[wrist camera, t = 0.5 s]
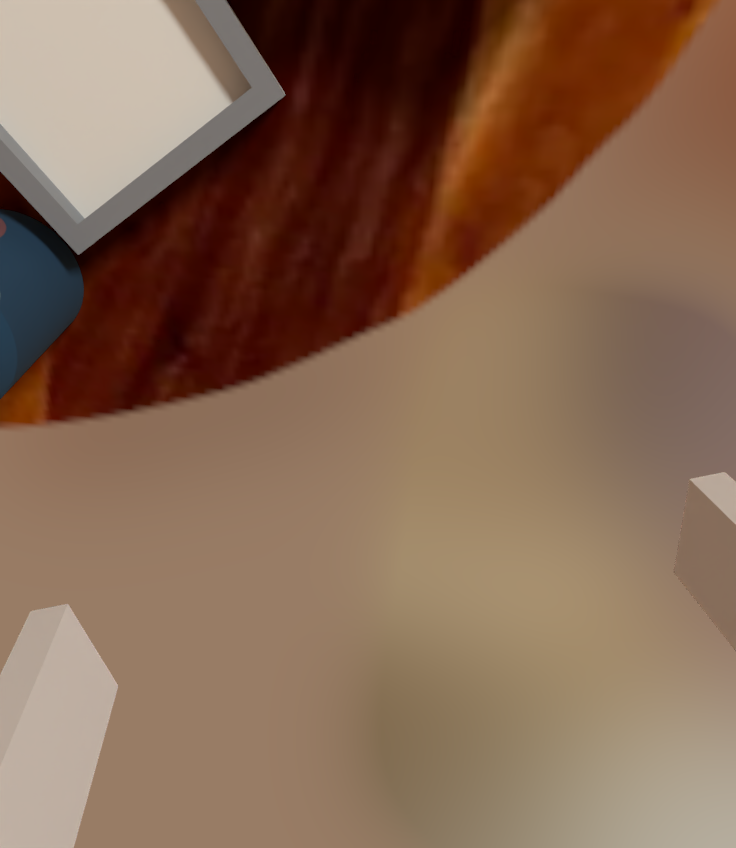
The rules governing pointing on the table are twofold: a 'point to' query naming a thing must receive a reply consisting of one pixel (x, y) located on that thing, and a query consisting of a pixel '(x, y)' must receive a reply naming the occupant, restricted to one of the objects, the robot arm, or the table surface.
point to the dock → (119, 101)
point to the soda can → (33, 293)
